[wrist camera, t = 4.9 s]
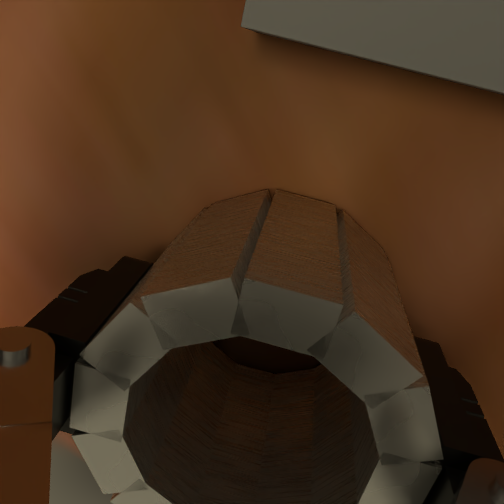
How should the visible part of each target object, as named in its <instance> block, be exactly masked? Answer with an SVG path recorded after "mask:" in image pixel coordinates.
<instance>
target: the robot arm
mask: <svg viewBox="0 0 504 504" xmlns="http://www.w3.org/2000/svg"><path fill="white" fill-rule="evenodd" d="M152 266H153V264H152V263H149V262H145V261H141V260H138V259H134V258H131V257H127V256H124V257H123V258H121V259H120V260H119V261H118V262H117V263H116V264H115V265H114V266H113V267H112V268H111V269H110V270H109V271H104V270H101V269H97V270H94V271H91V272H89V273H86V274H83V275H81V276H79V277H78V278H77V279H76V280H75V281H74V282H73V283H72V284H70V285H69V286H68V289H65V290H64V291H63V292H62V293H60V294H59V296H58V298H55V299H54V300H53V301H52V302H50V303H49V304H48V305H47V306H46V307H45V308H44V309H43V310H42V311H40V312H39V313H38V314H37V315H36V316H35V317H34V318H33V319H32V320H30V321H29V322H28V323H27V324H26V325H25V326H24V327H21V326H15V327H5V328H0V504H49V490H50V467H51V444H52V440H53V439H54V438H55V436H56V435H57V433H58V432H59V431H63V432H67V433H70V434H73V433H74V432H75V430H76V429H73V428H70V416H71V404H72V393H73V381H74V369H75V363H76V362H77V360H78V359H79V358H82V357H81V356H80V355H79V354H80V353H81V352H82V351H83V349H84V348H85V347H86V346H87V345H88V343H89V342H90V341H91V340H92V339H93V337H94V336H95V335H96V334H97V333H98V331H99V330H100V329H101V328H102V326H103V325H104V324H105V323H106V322H107V320H108V319H109V318H110V317H111V315H112V314H113V313H114V312H115V311H116V309H117V308H118V307H119V306H120V305H121V303H122V302H123V301H124V300H125V298H126V297H127V296H128V295H129V294H130V292H131V291H132V290H133V289H134V287H135V286H136V285H137V284H138V283H139V281H140V280H141V279H142V278H143V277H144V275H145V274H146V273H147V272H148V270H149V269H150V268H151V267H152ZM413 337H414V336H413ZM414 340H415V344H416V347H417V350H418V353H419V356H420V359H421V362H422V365H423V369H424V372H425V375H426V378H427V381H428V384H429V388H430V393H431V398H432V403H433V408H434V413H435V418H436V423H437V428H438V434H439V439H440V444H441V449H442V454H443V460H436V461H439V462H440V463H441V467H442V470H441V472H440V473H439V475H438V477H437V479H436V480H435V482H434V484H433V486H432V487H431V489H430V491H429V493H428V494H427V496H426V498H425V500H424V502H423V503H422V504H504V459H503V457H502V455H501V452H500V450H499V448H498V446H497V443H496V441H495V439H494V437H493V434H492V432H491V430H490V428H489V426H488V423H487V421H486V419H484V414H483V412H482V410H481V408H480V405H477V404H478V401H477V399H476V396H475V394H474V392H473V390H472V387H471V385H470V384H469V383H468V382H467V381H466V380H465V379H464V377H463V376H462V375H461V374H460V373H459V372H458V371H457V370H456V369H454V368H451V367H448V365H447V362H446V360H445V357H444V355H443V352H442V350H441V347H440V345H439V344H438V343H436V342H433V341H429V340H425V339H422V338H418V337H414Z"/></svg>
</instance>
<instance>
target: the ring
mask: <svg viewBox="0 0 504 504" xmlns="http://www.w3.org/2000/svg"><path fill="white" fill-rule="evenodd" d="M237 336H242V337H246V338H250V339H253V340H257V341H260V342H264V343H267V344H271V345H274V346H278V347H282V348H285V349H289V350H292V351H296V352H299V353H303V354H307V355H310V356H314V357H315V358H316V359H317V360H318V361H319V362H320V363H321V364H320V365H318V366H317V367H316V368H313V369H307V370H301V371H294V372H288V373H282V374H272V373H268V372H265V371H261V370H257V369H254V368H250V367H247V366H243V365H240V364H236V363H235V362H234V361H233V360H232V359H231V358H229V357H228V356H227V355H226V354H225V353H224V352H222V351H221V350H220V349H219V348H218V347H217V346H215V345H214V344H213V343H212V342H211V341H215V340H221V339H226V338H232V337H237ZM79 355H80V356H81V357H82V358H79V359H78V360H77V362H76V363H75V369H74V381H73V393H72V404H71V416H70V428H73V429H76V430H75V432H74V433H73V435H72V438H73V440H74V441H75V443H76V445H77V447H78V449H79V451H80V452H81V454H82V456H83V458H84V460H85V462H86V463H87V465H88V467H89V469H90V471H91V473H92V474H93V476H94V478H95V480H96V482H97V483H98V485H99V487H100V489H101V491H102V493H103V494H111V493H114V494H113V496H112V498H111V500H110V502H111V503H113V504H422V503H423V502H424V500H425V498H426V496H427V494H428V493H429V491H430V489H431V487H432V486H433V484H434V482H435V480H436V479H437V477H438V475H439V473H440V472H441V470H442V467H441V463H440V462H439V461H436V460H443V454H442V449H441V444H440V439H439V434H438V428H437V423H436V418H435V413H434V408H433V403H432V398H431V393H430V388H429V384H428V381H427V378H426V375H425V372H424V369H423V365H422V362H421V359H420V356H419V353H418V350H417V347H416V344H415V340H414V337H413V334H412V331H411V328H410V325H409V322H408V318H407V315H406V312H405V309H404V306H403V303H402V300H401V296H400V293H399V290H398V287H397V284H396V281H395V278H394V275H393V271H392V268H391V265H390V262H389V259H388V257H386V254H385V251H384V250H383V249H382V248H381V247H380V246H379V245H378V244H377V243H376V242H375V241H374V240H373V239H372V238H371V237H370V236H369V235H368V234H367V233H366V232H365V231H364V230H363V229H362V228H361V227H360V226H359V225H358V224H357V223H356V222H355V221H354V220H353V219H352V218H351V217H350V216H349V215H348V214H347V213H346V212H345V211H344V210H343V209H342V210H341V211H340V212H339V213H338V214H337V215H336V205H334V204H330V203H326V202H323V201H319V200H315V199H311V198H308V197H304V196H300V195H296V194H293V193H289V192H285V191H281V190H278V189H276V192H275V194H274V197H273V200H272V201H271V198H270V194H269V191H268V189H266V190H263V191H259V192H255V193H251V194H247V195H243V196H239V197H236V198H232V199H228V200H224V201H220V202H216V203H212V204H211V205H210V206H209V208H208V209H206V208H204V209H203V210H202V211H201V212H200V213H199V214H198V215H197V216H196V218H195V219H194V220H193V221H192V222H191V223H190V224H189V225H188V226H187V227H186V228H185V229H184V230H183V231H182V232H181V233H180V234H179V235H178V236H177V237H176V239H175V240H174V241H173V242H172V243H171V244H170V245H169V246H168V247H167V248H166V250H165V251H164V252H163V253H162V254H161V256H160V257H159V258H158V259H157V261H156V262H155V263H154V264H153V266H152V267H151V268H150V269H149V270H148V272H147V273H146V274H145V275H144V277H143V278H142V279H141V280H140V281H139V283H138V284H137V285H136V286H135V287H134V289H133V290H132V291H131V292H130V294H129V295H128V296H127V297H126V298H125V300H124V301H123V302H122V303H121V305H120V306H119V307H118V308H117V309H116V311H115V312H114V313H113V314H112V315H111V317H110V318H109V319H108V320H107V322H106V323H105V324H104V325H103V326H102V328H101V329H100V330H99V331H98V333H97V334H96V335H95V336H94V337H93V339H92V340H91V341H90V342H89V343H88V345H87V346H86V347H85V348H84V349H83V351H82V352H81V353H80V354H79Z"/></svg>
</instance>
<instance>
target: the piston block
mask: <svg viewBox="0 0 504 504" xmlns="http://www.w3.org/2000/svg"><path fill="white" fill-rule="evenodd" d="M241 27H244V28H247V29H249V30H252V31H255V32H258V33H262V34H266V35H270V36H274V37H278V38H282V39H286V40H290V41H294V42H297V43H301V44H305V45H309V46H313V47H317V48H321V49H325V50H329V51H333V52H337V53H341V54H345V55H349V56H353V57H357V58H361V59H364V60H368V61H372V62H376V63H380V64H384V65H388V66H392V67H396V68H400V69H404V70H408V71H412V72H416V73H420V74H424V75H428V76H432V77H435V78H439V79H443V80H447V81H451V82H455V83H459V84H463V85H467V86H471V87H475V88H479V89H483V90H487V91H491V92H495V93H499V94H502V95H504V0H246V3H245V8H244V13H243V18H242V23H241Z"/></svg>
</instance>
